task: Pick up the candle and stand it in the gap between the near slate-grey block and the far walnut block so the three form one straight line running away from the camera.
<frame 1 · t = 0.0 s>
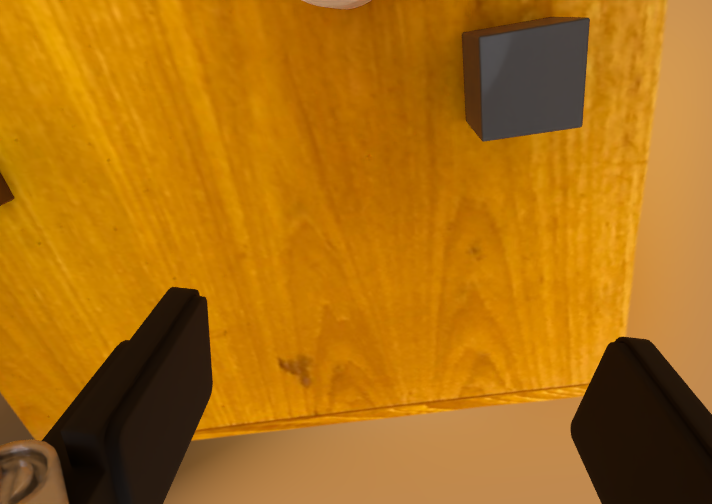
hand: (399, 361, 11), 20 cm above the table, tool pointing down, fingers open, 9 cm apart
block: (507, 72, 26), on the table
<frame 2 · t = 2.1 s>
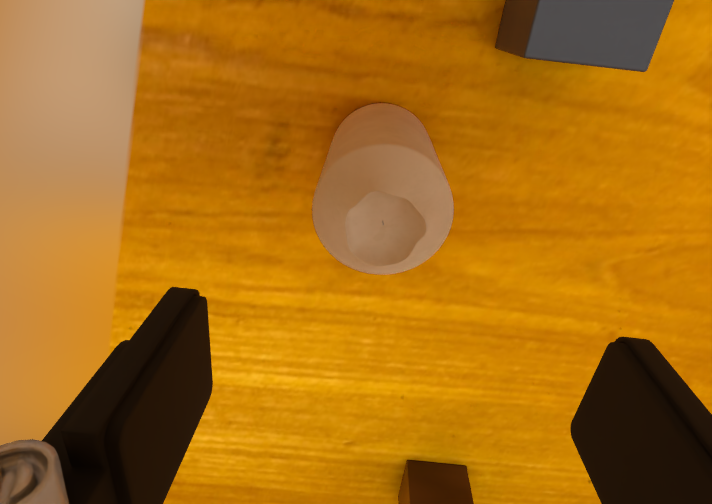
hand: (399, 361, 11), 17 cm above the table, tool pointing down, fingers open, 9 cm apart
candle: (380, 151, 25), on the table
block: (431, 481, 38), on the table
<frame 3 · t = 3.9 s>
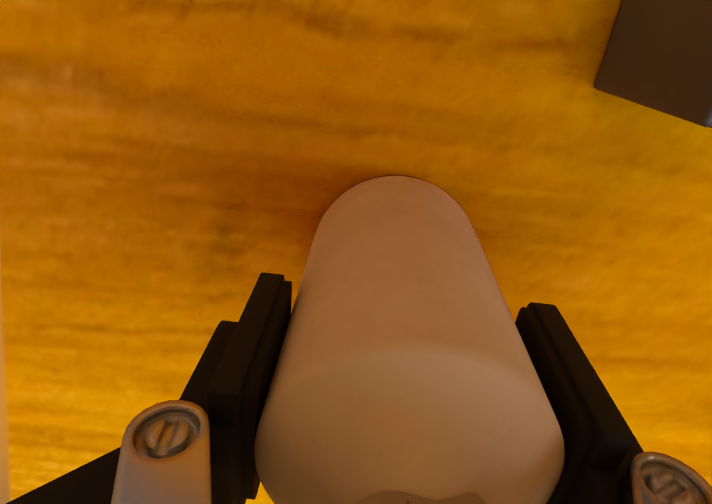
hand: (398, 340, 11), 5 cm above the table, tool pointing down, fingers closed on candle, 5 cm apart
candle: (393, 246, 16), on the table, touching gripper
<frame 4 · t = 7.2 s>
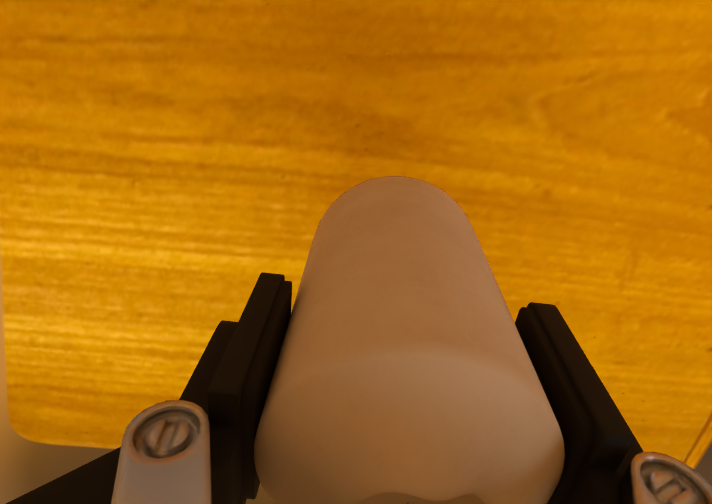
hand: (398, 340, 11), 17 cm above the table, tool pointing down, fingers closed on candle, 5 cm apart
candle: (393, 247, 16), point 12 cm above the table, touching gripper
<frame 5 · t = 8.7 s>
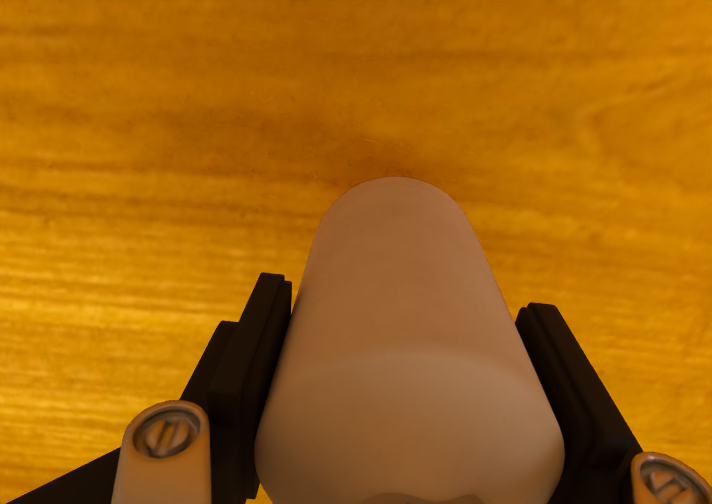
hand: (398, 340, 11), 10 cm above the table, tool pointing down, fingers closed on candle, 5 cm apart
candle: (393, 247, 16), point 5 cm above the table, touching gripper
when the fingers open (5 cm above the table, at t = 10.4 s): candle stays where it is, on the table.
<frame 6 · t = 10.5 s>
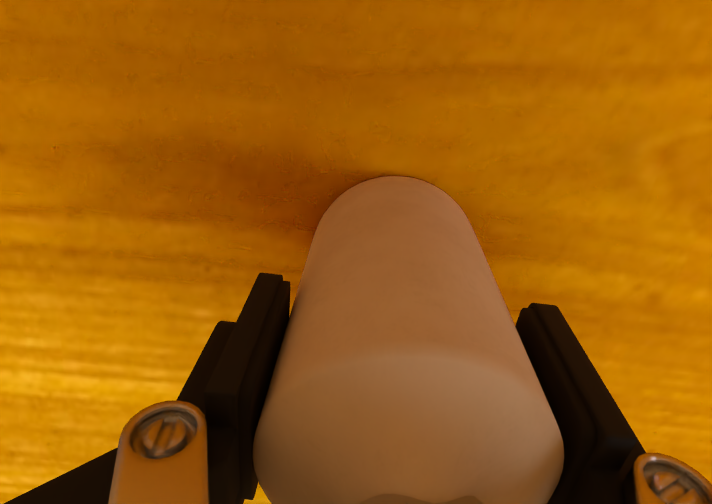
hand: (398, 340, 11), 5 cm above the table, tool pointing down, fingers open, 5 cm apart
candle: (392, 247, 16), on the table
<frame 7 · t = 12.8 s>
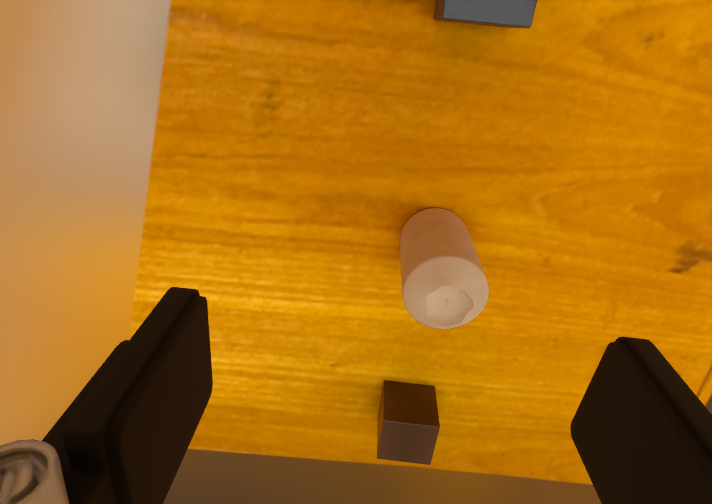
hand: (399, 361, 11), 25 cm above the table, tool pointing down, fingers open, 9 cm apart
candle: (433, 237, 37), on the table
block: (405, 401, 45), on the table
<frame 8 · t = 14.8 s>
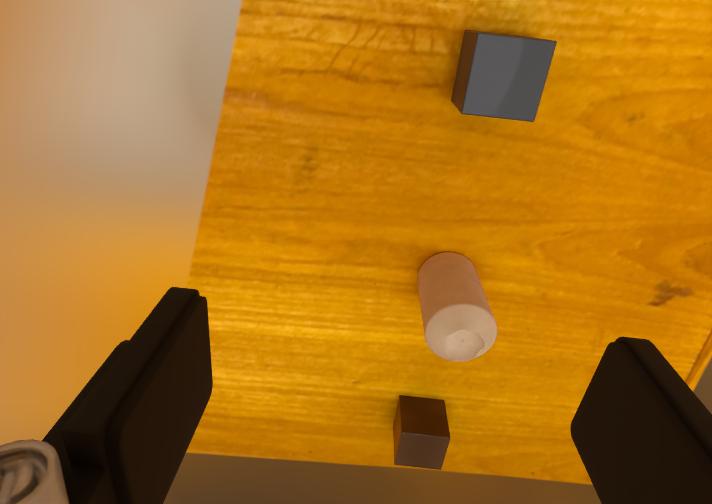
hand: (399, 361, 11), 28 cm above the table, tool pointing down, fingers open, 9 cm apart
candle: (446, 275, 42), on the table
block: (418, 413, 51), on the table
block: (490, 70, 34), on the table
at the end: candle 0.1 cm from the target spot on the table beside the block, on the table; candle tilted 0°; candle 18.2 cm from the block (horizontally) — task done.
